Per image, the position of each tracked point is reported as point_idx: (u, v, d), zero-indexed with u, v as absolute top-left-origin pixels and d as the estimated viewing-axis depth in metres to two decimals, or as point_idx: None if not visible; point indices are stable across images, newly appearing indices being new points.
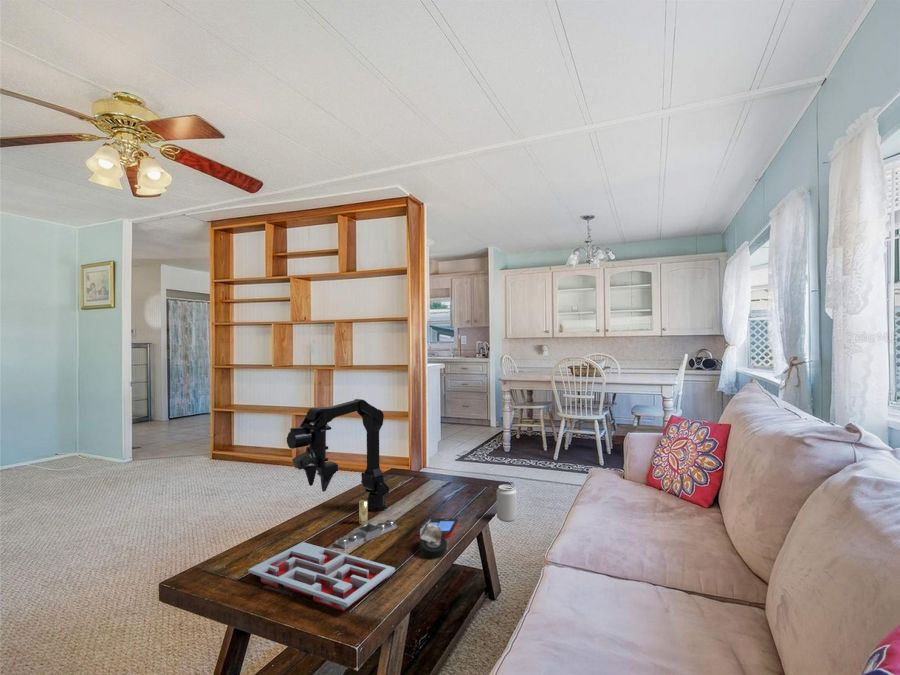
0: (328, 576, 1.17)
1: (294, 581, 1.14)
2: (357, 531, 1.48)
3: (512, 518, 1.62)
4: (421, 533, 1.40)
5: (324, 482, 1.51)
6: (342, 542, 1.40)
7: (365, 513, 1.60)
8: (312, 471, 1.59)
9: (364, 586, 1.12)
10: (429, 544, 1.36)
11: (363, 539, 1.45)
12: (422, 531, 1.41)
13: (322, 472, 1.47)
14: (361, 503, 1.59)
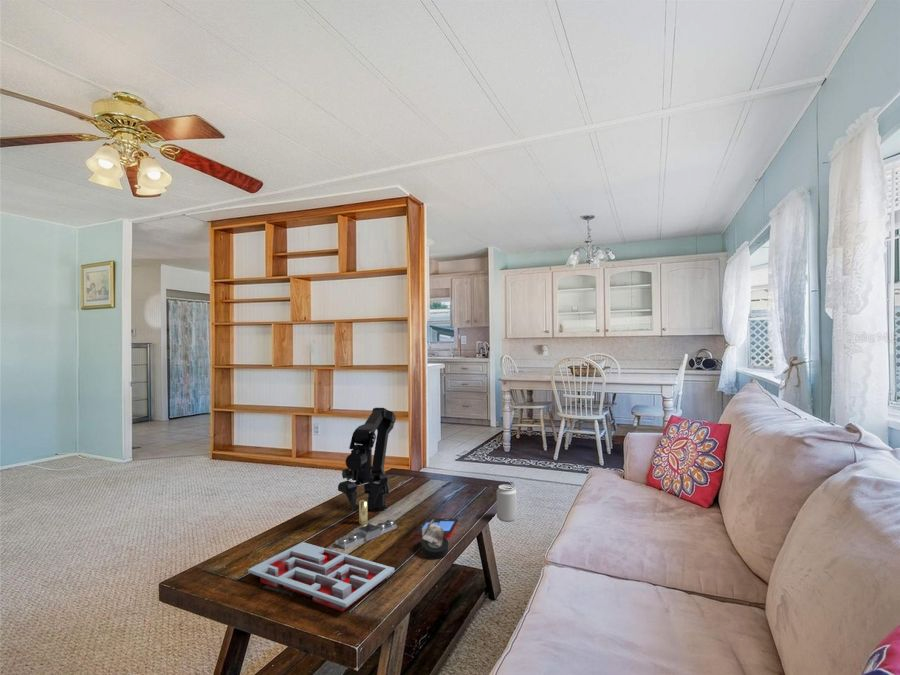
0: (327, 576, 1.17)
1: (293, 581, 1.14)
2: (357, 531, 1.48)
3: (512, 518, 1.62)
4: (423, 533, 1.40)
5: (349, 500, 1.57)
6: (342, 542, 1.40)
7: (365, 513, 1.60)
8: (375, 489, 1.64)
9: (363, 586, 1.12)
10: (430, 544, 1.36)
11: (363, 539, 1.45)
12: (424, 531, 1.41)
13: None
14: (361, 503, 1.59)
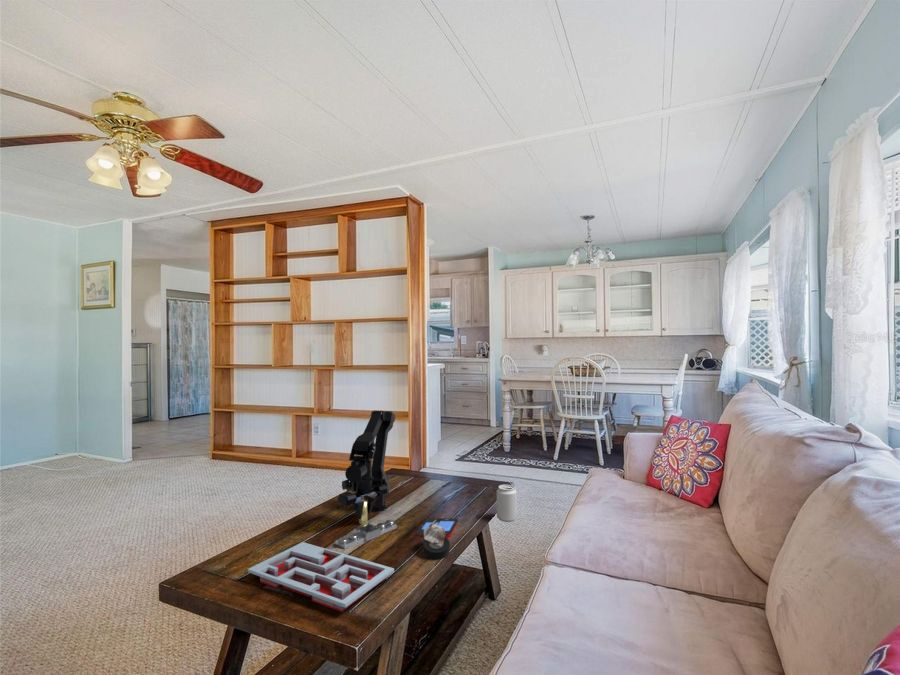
0: (327, 576, 1.17)
1: (293, 581, 1.14)
2: (357, 531, 1.48)
3: (512, 518, 1.62)
4: (425, 533, 1.40)
5: (356, 509, 1.59)
6: (342, 542, 1.40)
7: (365, 513, 1.60)
8: (369, 503, 1.62)
9: (363, 587, 1.12)
10: (432, 545, 1.35)
11: (363, 539, 1.45)
12: (426, 531, 1.40)
13: None
14: None
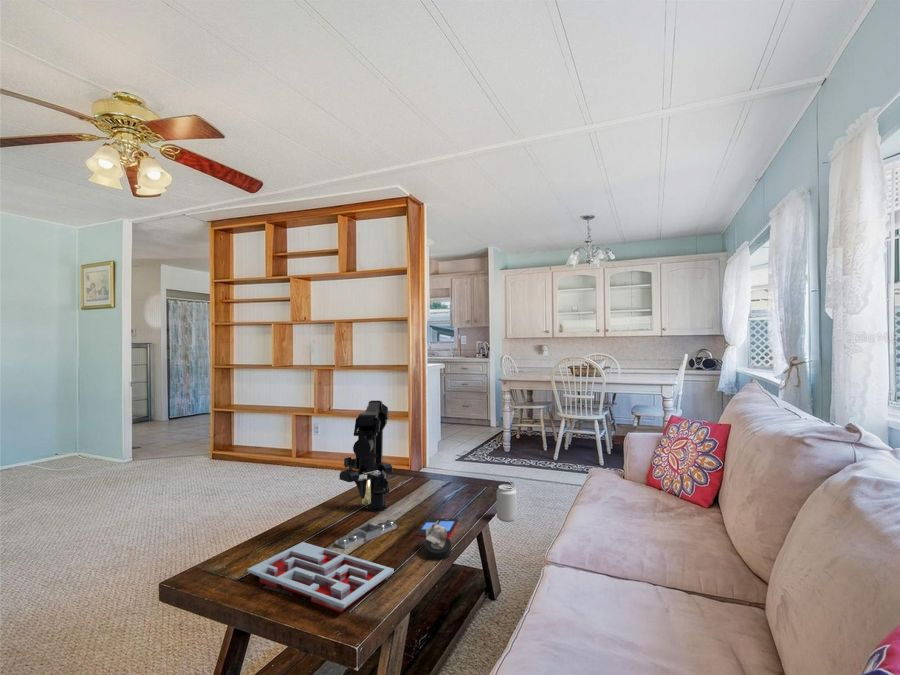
0: (326, 577, 1.17)
1: (292, 581, 1.14)
2: (357, 531, 1.48)
3: (512, 518, 1.62)
4: (427, 534, 1.40)
5: (359, 488, 1.49)
6: (342, 542, 1.40)
7: (368, 492, 1.50)
8: (372, 481, 1.52)
9: (362, 587, 1.11)
10: (433, 545, 1.35)
11: (363, 539, 1.45)
12: (428, 532, 1.40)
13: None
14: None
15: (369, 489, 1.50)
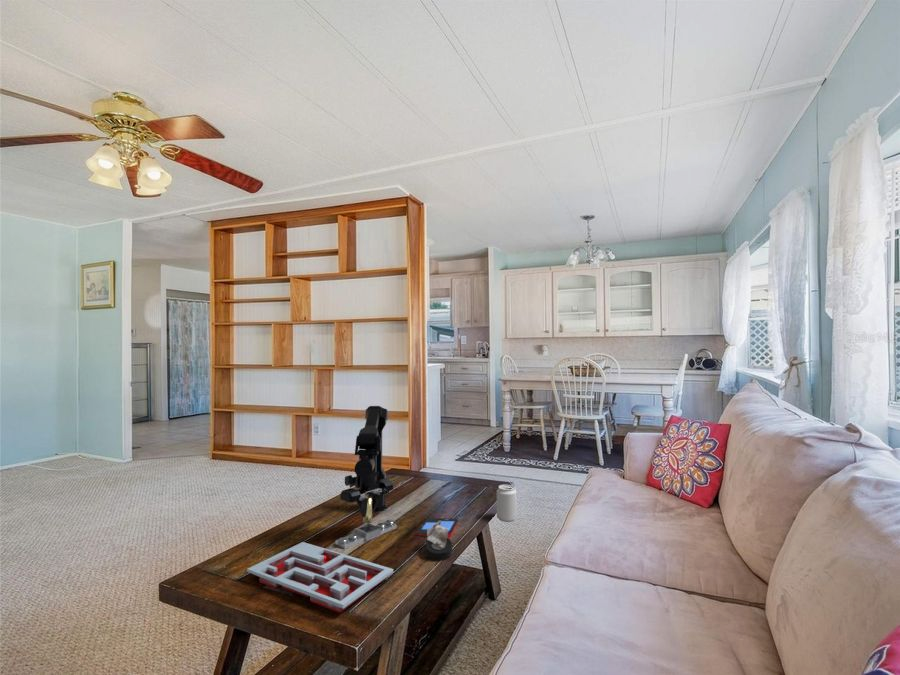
0: (326, 577, 1.17)
1: (292, 581, 1.14)
2: (357, 531, 1.48)
3: (512, 518, 1.62)
4: (428, 534, 1.40)
5: (360, 507, 1.48)
6: (342, 542, 1.40)
7: (369, 511, 1.49)
8: (373, 500, 1.51)
9: (361, 588, 1.11)
10: (434, 546, 1.35)
11: (363, 539, 1.45)
12: (430, 532, 1.40)
13: None
14: None
15: (370, 508, 1.49)
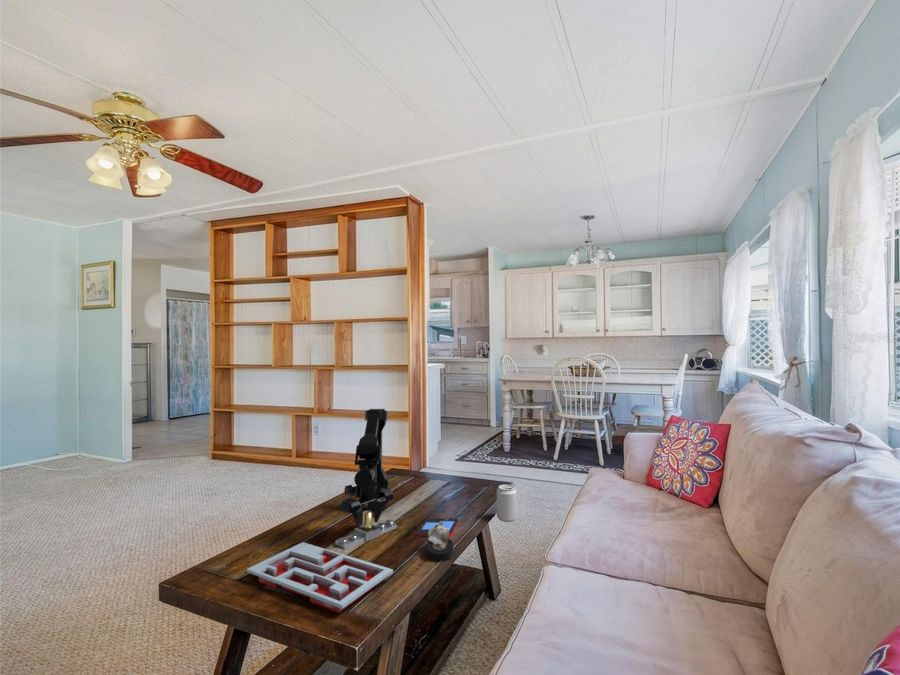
0: (325, 577, 1.16)
1: (291, 582, 1.14)
2: (357, 531, 1.48)
3: (512, 518, 1.62)
4: (430, 534, 1.39)
5: (355, 519, 1.46)
6: (342, 542, 1.40)
7: (369, 525, 1.49)
8: (378, 508, 1.52)
9: (360, 588, 1.11)
10: (435, 546, 1.35)
11: (363, 539, 1.45)
12: (431, 532, 1.40)
13: None
14: (365, 514, 1.48)
15: (370, 522, 1.49)
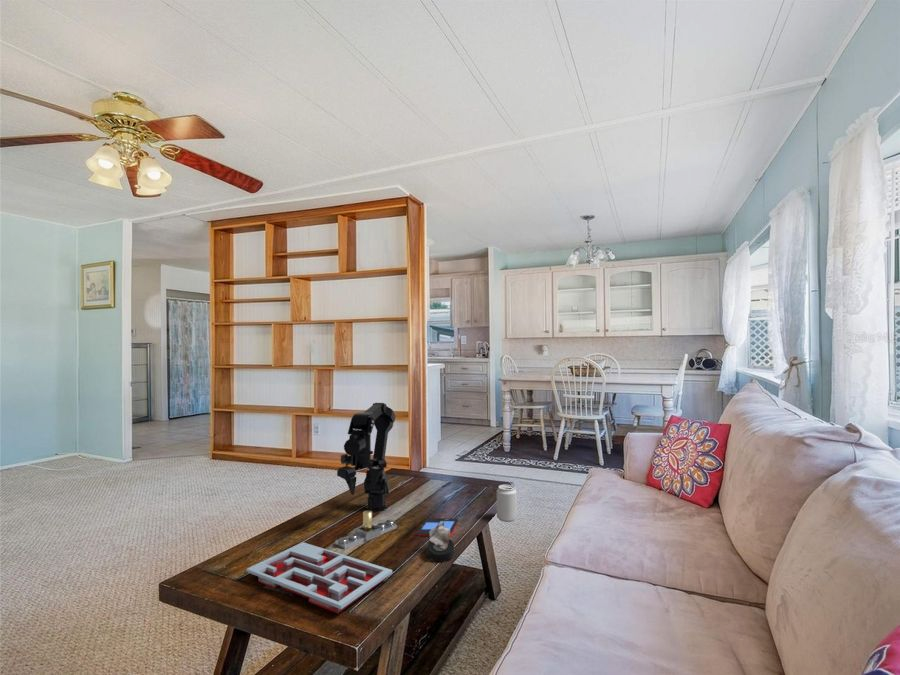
0: (324, 577, 1.16)
1: (290, 582, 1.14)
2: (357, 531, 1.48)
3: (512, 518, 1.62)
4: (431, 535, 1.39)
5: (349, 485, 1.56)
6: (342, 542, 1.40)
7: (369, 525, 1.48)
8: (374, 475, 1.64)
9: (359, 588, 1.11)
10: (435, 547, 1.34)
11: (363, 539, 1.45)
12: (432, 533, 1.39)
13: None
14: (365, 514, 1.48)
15: (370, 522, 1.49)
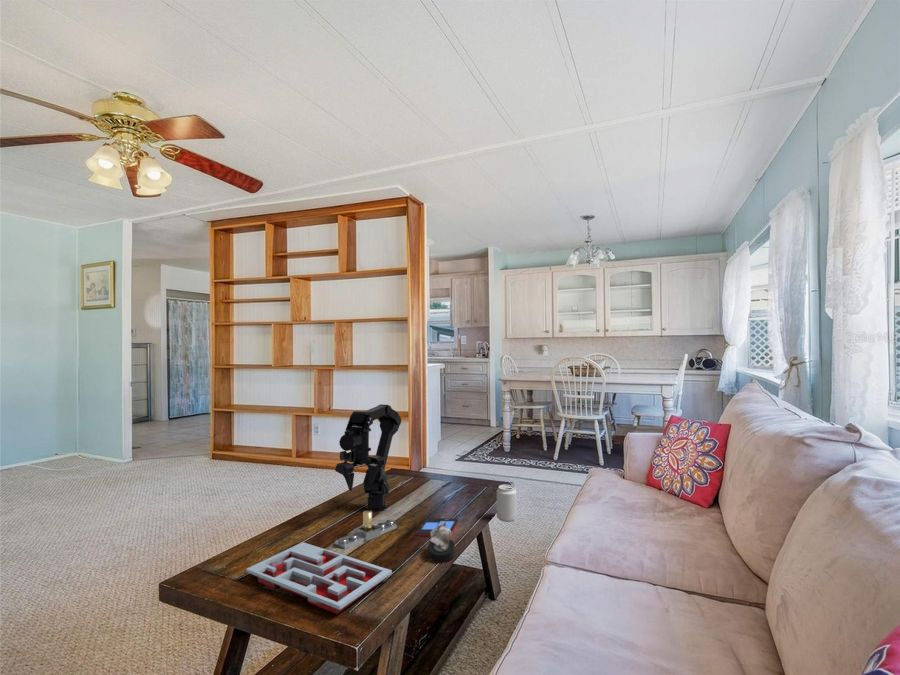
0: (324, 578, 1.16)
1: (290, 582, 1.14)
2: (357, 531, 1.48)
3: (512, 518, 1.62)
4: (432, 535, 1.39)
5: (347, 481, 1.60)
6: (342, 542, 1.40)
7: (369, 525, 1.48)
8: (372, 471, 1.67)
9: (359, 589, 1.11)
10: (436, 547, 1.34)
11: (363, 539, 1.45)
12: (434, 533, 1.39)
13: None
14: (365, 514, 1.48)
15: (370, 522, 1.49)
